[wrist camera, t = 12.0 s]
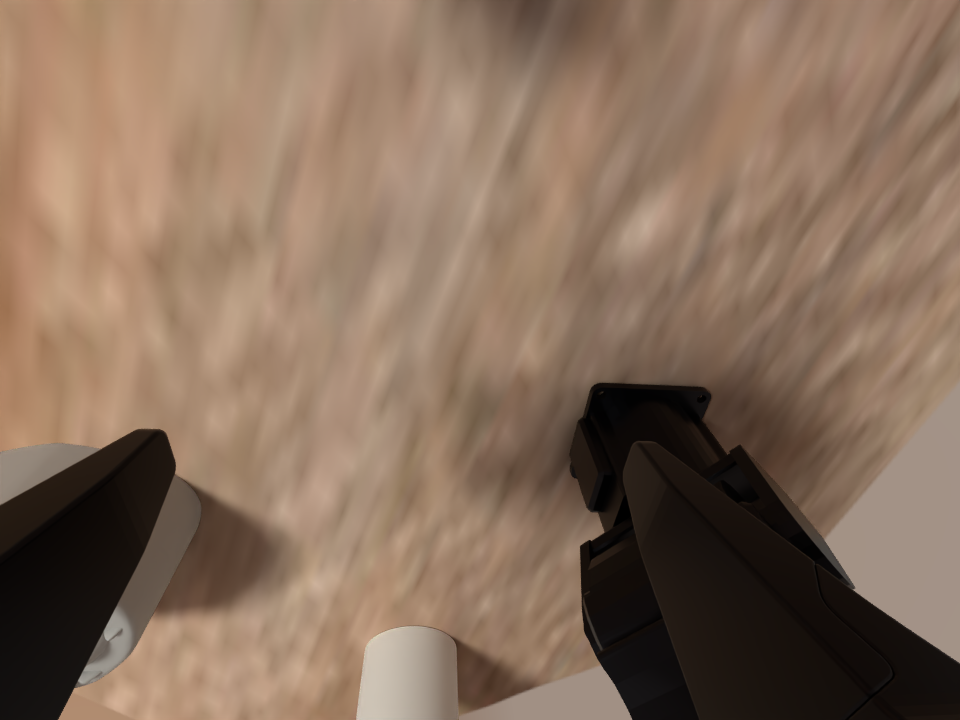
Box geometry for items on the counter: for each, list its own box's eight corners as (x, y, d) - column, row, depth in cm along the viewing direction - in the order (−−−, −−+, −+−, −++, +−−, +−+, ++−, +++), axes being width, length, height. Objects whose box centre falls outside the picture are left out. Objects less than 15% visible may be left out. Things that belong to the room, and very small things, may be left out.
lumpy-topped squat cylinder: (-93, 471, 25) (-314, 641, 18) (141, 420, 24) (12, 575, 17) (44, 585, 31) (-82, 750, 23) (237, 546, 30) (171, 703, 23)
